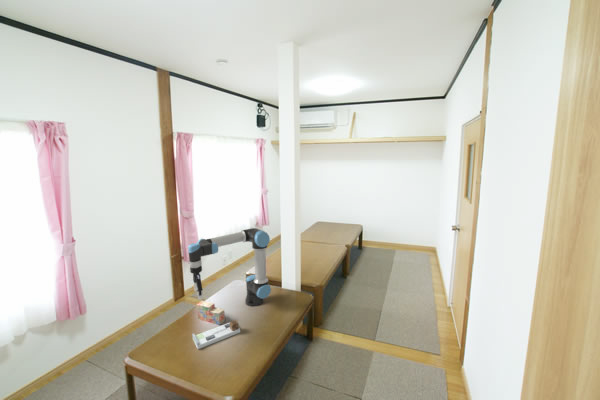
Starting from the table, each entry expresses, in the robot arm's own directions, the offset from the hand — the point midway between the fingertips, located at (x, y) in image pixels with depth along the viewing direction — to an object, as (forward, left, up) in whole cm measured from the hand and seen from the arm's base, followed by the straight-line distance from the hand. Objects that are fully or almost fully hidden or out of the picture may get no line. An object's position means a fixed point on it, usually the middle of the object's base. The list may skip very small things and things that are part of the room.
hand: (198, 295), depth 192 cm
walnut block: (-18, +15, -25) cm, 34 cm away
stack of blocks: (-10, -10, -28) cm, 31 cm away
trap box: (-7, +12, -27) cm, 30 cm away
